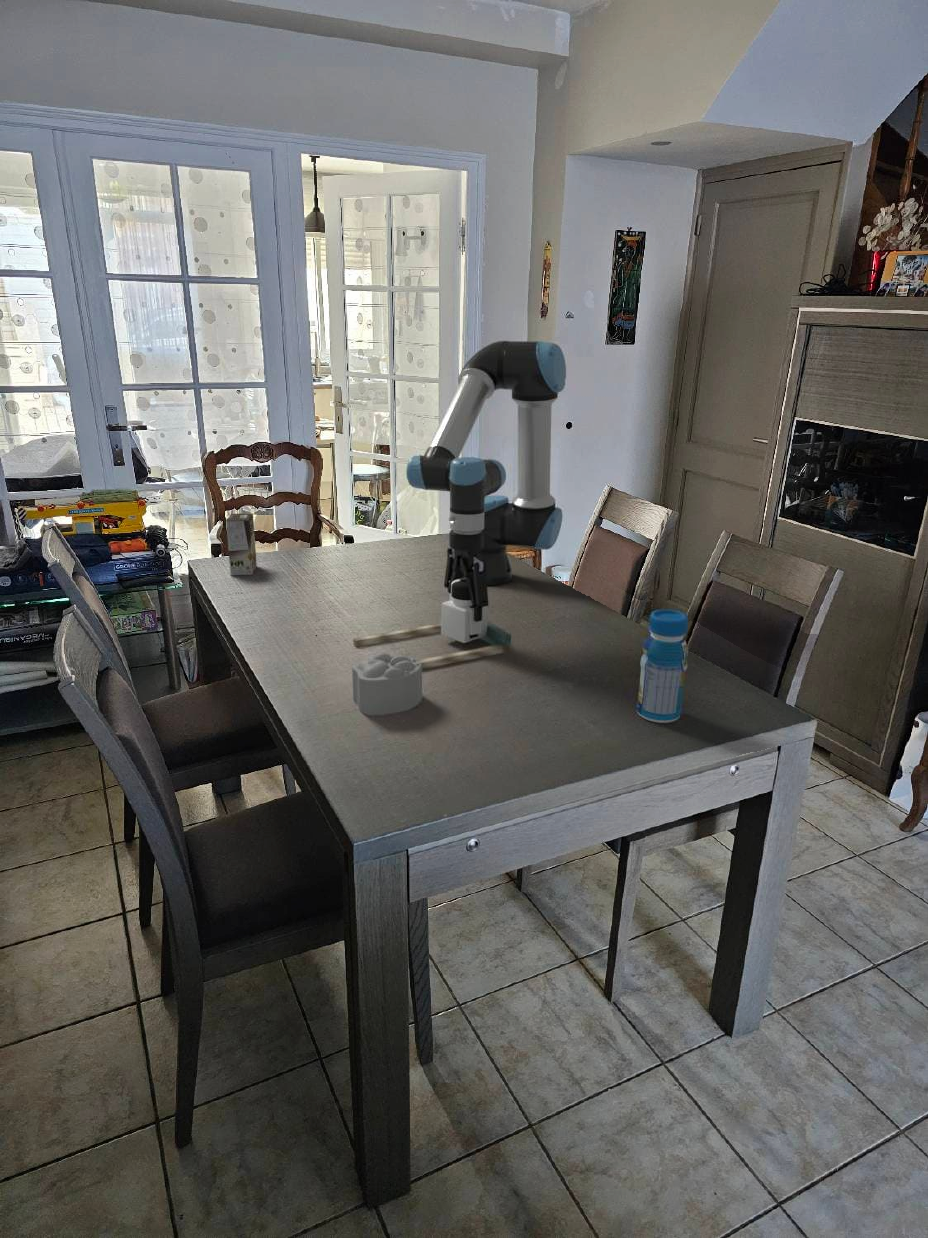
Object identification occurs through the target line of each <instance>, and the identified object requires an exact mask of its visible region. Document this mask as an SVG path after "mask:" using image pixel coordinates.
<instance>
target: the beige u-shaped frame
mask: <svg viewBox="0 0 928 1238" xmlns="http://www.w3.org/2000/svg"><path fill="white" fill-rule="evenodd" d="M436 633H441V622H439V623H435V624H429V625H422V626H418V627H413V628H412V627H411V628H405V629H401V630H394V631H389V632H383V633H379V634H371V635H368V636H361V637H355V638H353V639H352V641H353V646H354V647H355V648H359V647H363V646H369V645H370V646H371V645H375V644H380V643H385V642H391V641H397V640H403V639H408V638H414V637H418V636H425V635H430V634H436ZM481 639H482V640H483V641H485V642H486V643H488V644H490V645H488V646H483V647H478V648H473V649H469V650H464V651H458V652H453V653H448V654H444V655H438V656H434V657H428V658H424V659H423V658H421V659H419V660H416V661H418V662H420V663H421V665H422V670H425V669H429V668H436V667H439V666H440V667H441V666H445V665H449V664H455V663H459V662H464V661H469V660H474V659H478V658H479V659H480V658H485V657H489V656H493V655H497V654H498V655H500V654H502V653H509V652H511V651H512V648H511V647H512V646H511V645H512V634H511V633H509V632H508V631H506V630H505V629H503V628H502V627H501V626H498V625H497V624H496V623H494V622H492V621H491V620H489V619H488V626H487V635H486V636H484V637H481Z"/></svg>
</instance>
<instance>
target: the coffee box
mask: <svg viewBox="0 0 928 1238" xmlns="http://www.w3.org/2000/svg"><path fill="white" fill-rule="evenodd" d="M225 525H226V526H225V527H226V537H227V546H228V547H227V548H228V550H227V551H228V559H229V572H230V576H252V575H254V572H255V570H256V569H257V566H258V565H257V564H258V562H257V551H256V538H255V536H256V535H255V523H254V513H246V512H243V513H239V512H238V513H231V514H230V515H229V516H228V517H227V518H226V520H225Z"/></svg>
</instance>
